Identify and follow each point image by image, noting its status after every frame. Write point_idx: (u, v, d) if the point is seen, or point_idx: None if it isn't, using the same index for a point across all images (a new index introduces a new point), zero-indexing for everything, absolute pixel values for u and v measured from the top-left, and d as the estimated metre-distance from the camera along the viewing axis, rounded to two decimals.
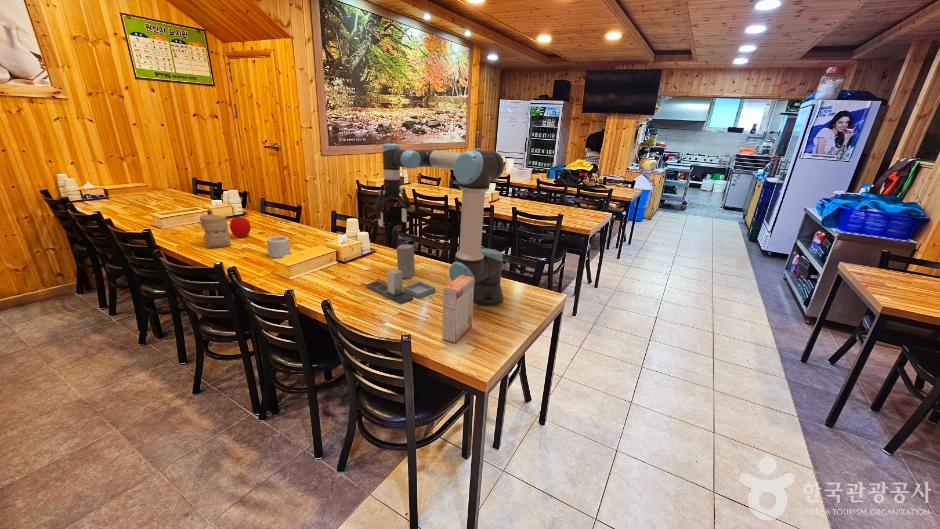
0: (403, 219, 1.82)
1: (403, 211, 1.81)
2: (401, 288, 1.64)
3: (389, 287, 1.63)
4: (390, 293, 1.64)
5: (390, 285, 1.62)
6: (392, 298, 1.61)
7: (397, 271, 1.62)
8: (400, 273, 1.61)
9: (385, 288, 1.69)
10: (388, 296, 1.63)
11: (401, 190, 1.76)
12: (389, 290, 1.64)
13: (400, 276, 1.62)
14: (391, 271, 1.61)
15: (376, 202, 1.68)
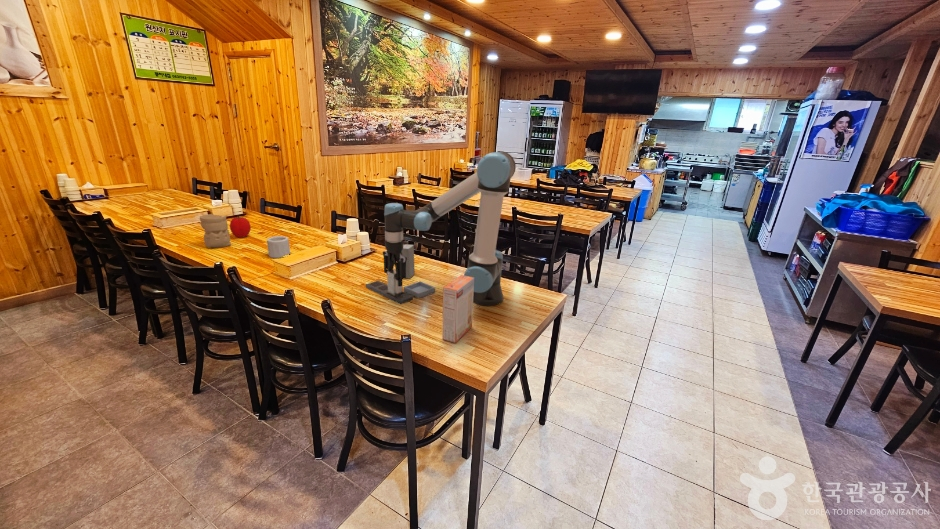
0: None
1: None
2: None
3: (389, 287, 1.63)
4: (390, 293, 1.64)
5: (390, 285, 1.62)
6: (392, 298, 1.61)
7: None
8: None
9: (385, 288, 1.69)
10: (388, 296, 1.63)
11: (401, 257, 1.56)
12: (389, 290, 1.64)
13: None
14: (391, 271, 1.61)
15: None
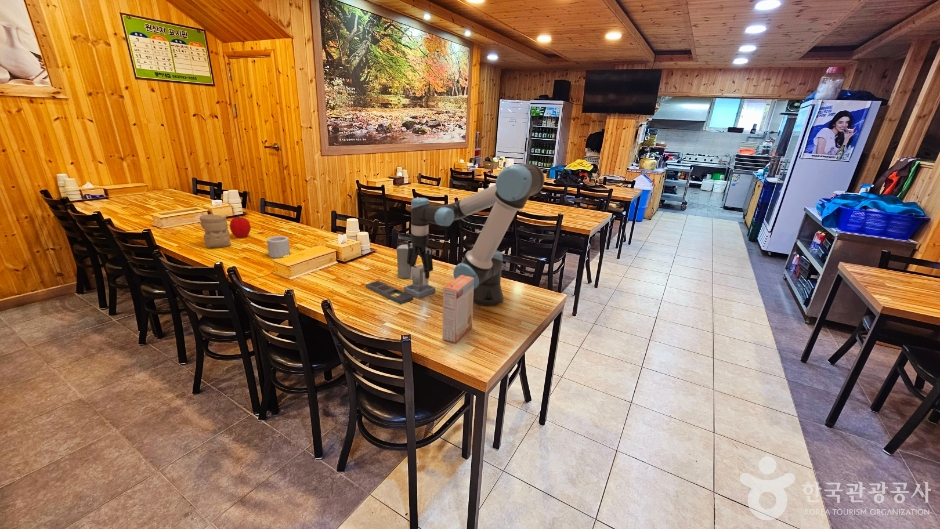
0: None
1: None
2: None
3: (414, 282, 1.69)
4: (415, 288, 1.69)
5: (415, 280, 1.68)
6: (392, 298, 1.61)
7: (422, 266, 1.67)
8: None
9: (385, 288, 1.69)
10: (388, 296, 1.63)
11: (426, 250, 1.61)
12: (414, 285, 1.69)
13: None
14: (416, 267, 1.67)
15: None
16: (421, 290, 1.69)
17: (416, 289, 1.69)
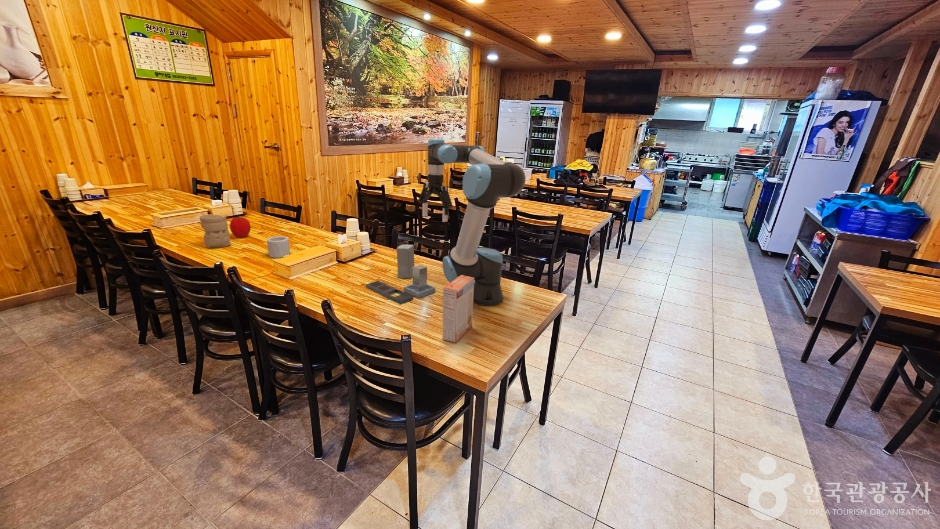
0: None
1: None
2: (425, 283, 1.70)
3: (414, 282, 1.69)
4: (415, 288, 1.69)
5: (415, 280, 1.68)
6: (392, 298, 1.61)
7: (422, 266, 1.67)
8: (425, 268, 1.67)
9: (385, 288, 1.69)
10: (388, 296, 1.63)
11: None
12: (414, 285, 1.69)
13: (425, 271, 1.67)
14: (416, 267, 1.67)
15: None
16: (421, 290, 1.69)
17: (416, 289, 1.69)
